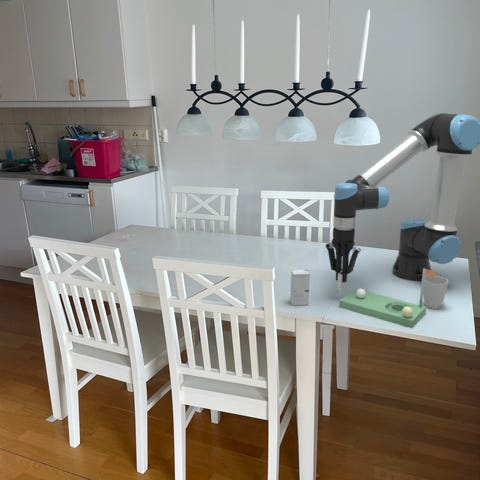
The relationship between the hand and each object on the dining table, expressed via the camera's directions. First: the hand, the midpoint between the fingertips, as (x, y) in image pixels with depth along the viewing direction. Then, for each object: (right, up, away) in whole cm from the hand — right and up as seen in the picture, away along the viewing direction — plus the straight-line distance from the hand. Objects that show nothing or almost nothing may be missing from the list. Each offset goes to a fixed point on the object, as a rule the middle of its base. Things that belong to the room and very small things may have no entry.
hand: (340, 289), depth 177 cm
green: (+12, -6, -8) cm, 16 cm away
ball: (+6, -1, -5) cm, 8 cm away
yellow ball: (+18, -5, -19) cm, 27 cm away
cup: (+31, -5, -6) cm, 32 cm away
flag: (+26, -5, -13) cm, 29 cm away
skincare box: (-15, -5, -2) cm, 16 cm away
